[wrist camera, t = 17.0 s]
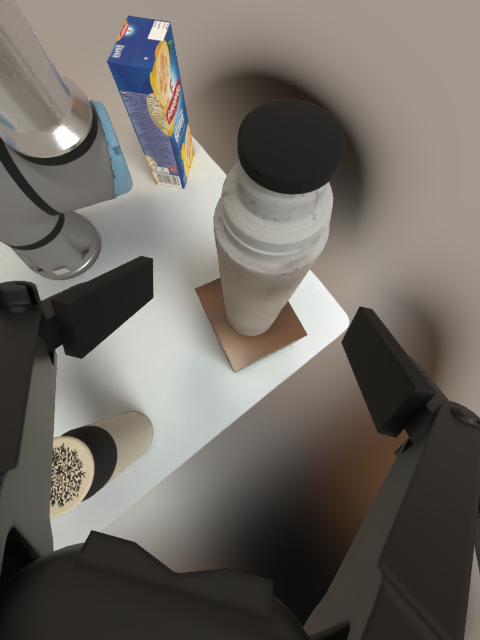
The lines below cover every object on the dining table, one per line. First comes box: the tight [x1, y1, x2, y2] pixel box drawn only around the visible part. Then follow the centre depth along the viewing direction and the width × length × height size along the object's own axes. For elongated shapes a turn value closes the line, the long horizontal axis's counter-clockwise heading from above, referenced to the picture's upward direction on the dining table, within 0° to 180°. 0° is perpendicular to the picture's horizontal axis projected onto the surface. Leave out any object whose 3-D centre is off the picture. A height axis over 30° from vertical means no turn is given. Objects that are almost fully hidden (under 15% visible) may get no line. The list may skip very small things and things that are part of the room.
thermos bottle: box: [213, 99, 346, 336], centre depth 24 cm, size 8×8×28 cm
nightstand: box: [195, 278, 307, 373], centre depth 42 cm, size 15×13×10 cm
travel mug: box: [50, 412, 153, 517], centre depth 33 cm, size 8×8×18 cm
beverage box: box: [107, 16, 194, 189], centre depth 46 cm, size 7×11×22 cm, turn 170°
